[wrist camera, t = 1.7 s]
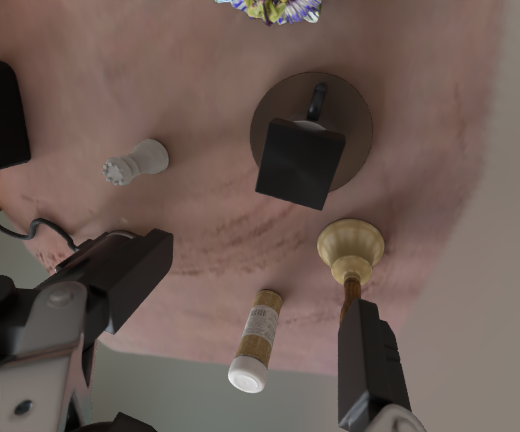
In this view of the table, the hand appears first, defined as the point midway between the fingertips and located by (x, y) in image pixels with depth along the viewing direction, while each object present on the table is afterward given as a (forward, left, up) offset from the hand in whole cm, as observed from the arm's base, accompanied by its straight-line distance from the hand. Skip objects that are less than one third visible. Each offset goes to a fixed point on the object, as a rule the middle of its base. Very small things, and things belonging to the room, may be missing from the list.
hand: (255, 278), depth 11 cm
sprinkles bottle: (+1, -25, -22) cm, 33 cm away
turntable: (0, +1, -22) cm, 22 cm away
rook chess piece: (-19, -6, -22) cm, 30 cm away
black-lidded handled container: (0, +3, -21) cm, 21 cm away
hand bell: (+9, -11, -22) cm, 26 cm away
